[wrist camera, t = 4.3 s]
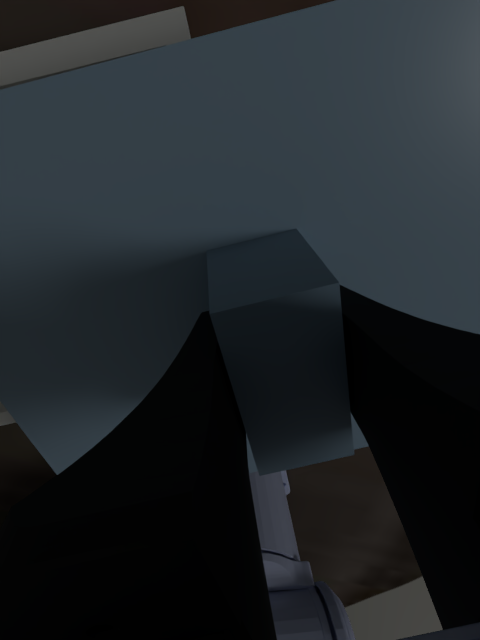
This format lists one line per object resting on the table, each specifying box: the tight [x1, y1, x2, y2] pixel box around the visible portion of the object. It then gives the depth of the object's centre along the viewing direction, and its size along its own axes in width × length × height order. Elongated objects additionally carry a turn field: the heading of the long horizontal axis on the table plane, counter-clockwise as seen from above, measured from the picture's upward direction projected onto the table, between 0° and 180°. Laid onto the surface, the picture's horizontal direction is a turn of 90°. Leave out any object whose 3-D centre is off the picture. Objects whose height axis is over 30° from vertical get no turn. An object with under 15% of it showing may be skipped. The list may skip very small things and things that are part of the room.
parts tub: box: [0, 6, 191, 426], centre depth 17 cm, size 14×18×5 cm
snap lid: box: [0, 0, 480, 476], centre depth 10 cm, size 14×18×6 cm
